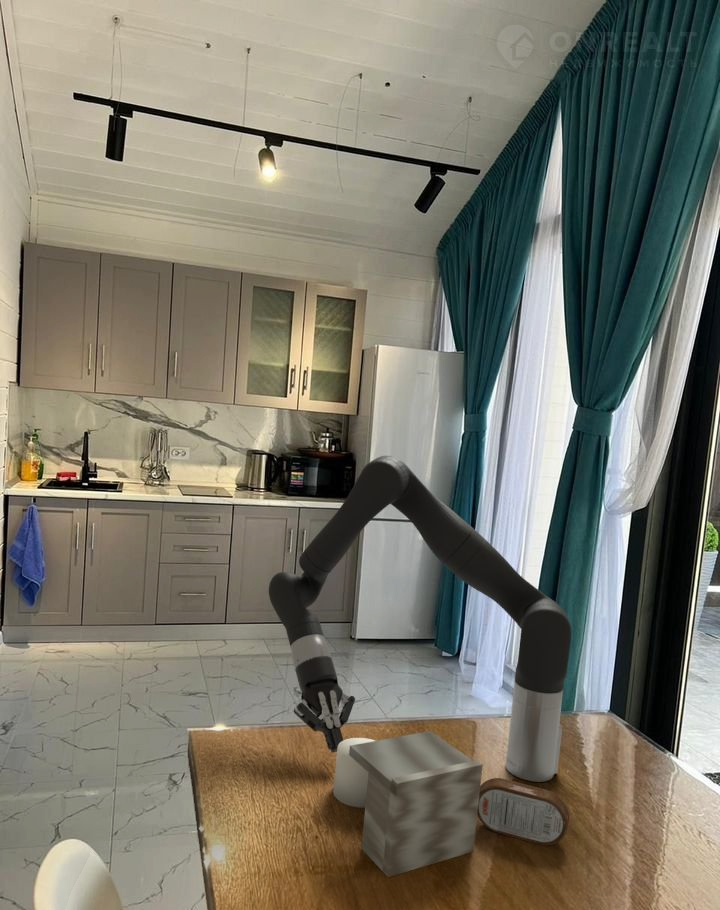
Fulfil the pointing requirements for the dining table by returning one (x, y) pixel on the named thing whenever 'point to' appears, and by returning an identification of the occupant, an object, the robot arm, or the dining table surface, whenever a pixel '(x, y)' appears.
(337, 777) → the paper roll
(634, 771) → the dining table surface
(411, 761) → the overhanging lid box
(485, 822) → the tin
